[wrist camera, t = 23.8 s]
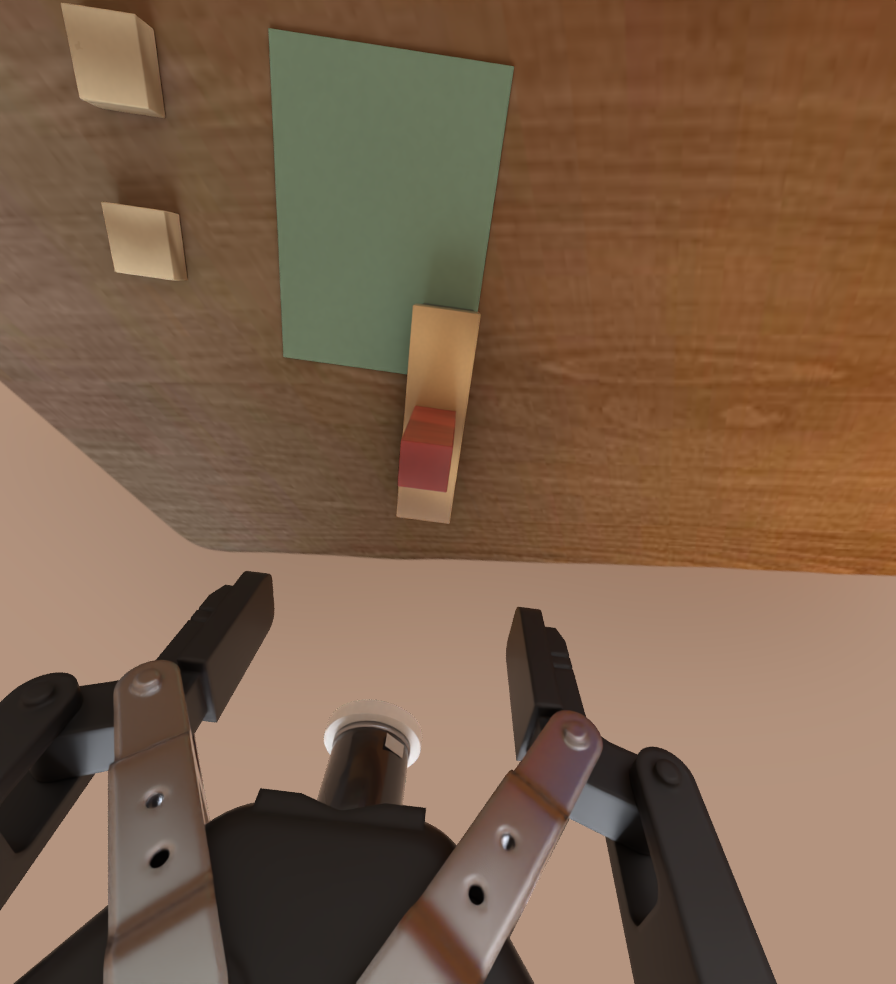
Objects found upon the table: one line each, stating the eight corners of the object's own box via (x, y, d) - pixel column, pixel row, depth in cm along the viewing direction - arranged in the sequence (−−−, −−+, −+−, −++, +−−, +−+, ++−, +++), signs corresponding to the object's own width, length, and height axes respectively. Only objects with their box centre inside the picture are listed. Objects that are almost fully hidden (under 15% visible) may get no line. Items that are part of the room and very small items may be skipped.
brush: (450, 505, 37) (445, 579, 28) (401, 499, 37) (380, 571, 28) (479, 310, 30) (484, 327, 21) (417, 301, 30) (395, 314, 21)
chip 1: (166, 118, 26) (148, 109, 24) (100, 108, 26) (79, 99, 24) (154, 29, 24) (134, 13, 23) (83, 18, 24) (59, 1, 22)
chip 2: (188, 280, 30) (174, 280, 28) (131, 272, 30) (114, 272, 28) (179, 214, 28) (163, 210, 27) (118, 205, 28) (100, 201, 27)
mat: (467, 382, 32) (467, 382, 32) (284, 356, 32) (283, 357, 32) (513, 67, 24) (514, 66, 24) (269, 29, 24) (268, 27, 24)
